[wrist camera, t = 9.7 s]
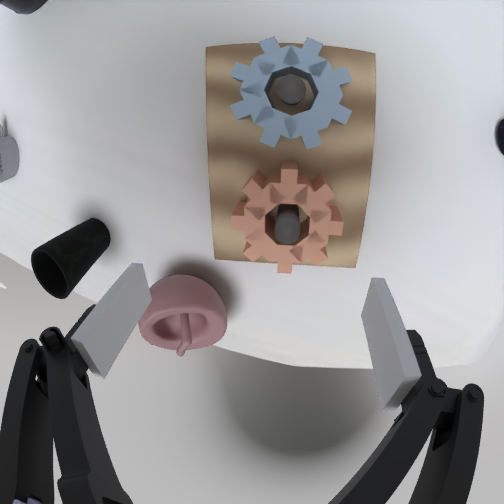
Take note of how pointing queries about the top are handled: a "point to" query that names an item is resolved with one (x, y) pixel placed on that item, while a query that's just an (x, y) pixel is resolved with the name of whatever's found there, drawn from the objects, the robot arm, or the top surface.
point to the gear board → (289, 150)
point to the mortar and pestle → (183, 314)
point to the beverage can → (501, 136)
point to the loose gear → (263, 227)
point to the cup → (69, 257)
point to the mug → (8, 157)
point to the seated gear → (302, 65)
